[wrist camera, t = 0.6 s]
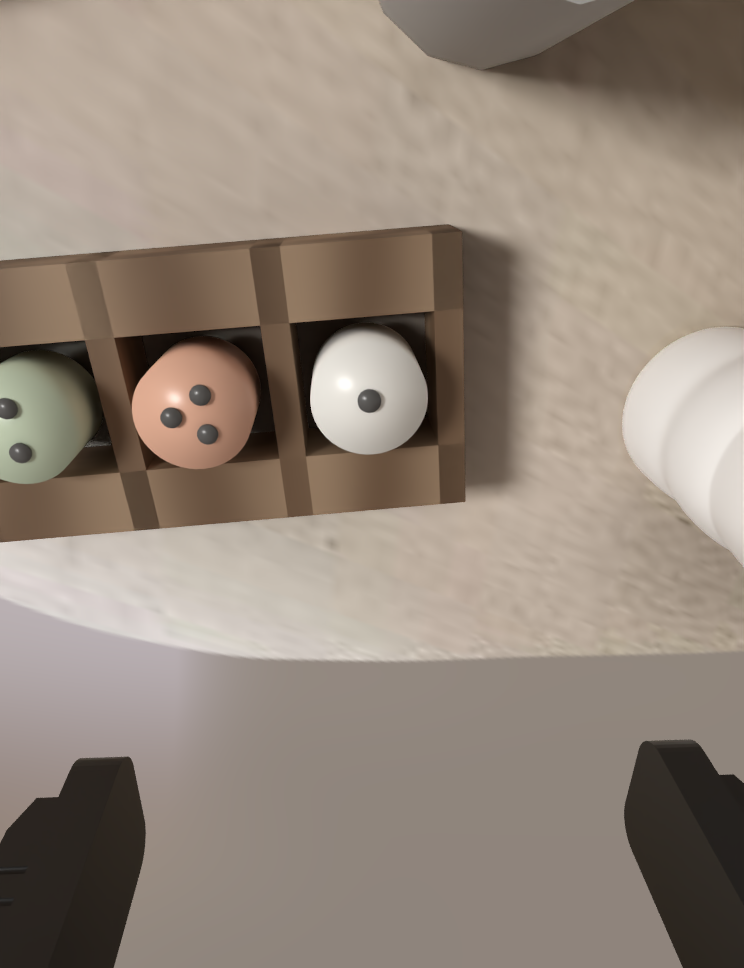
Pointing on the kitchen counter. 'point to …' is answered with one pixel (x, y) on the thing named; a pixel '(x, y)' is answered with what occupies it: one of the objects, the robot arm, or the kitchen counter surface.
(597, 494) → the kitchen counter surface
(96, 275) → the wooden compartment tray
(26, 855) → the robot arm
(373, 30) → the kitchen counter surface
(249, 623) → the kitchen counter surface
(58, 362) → the button two
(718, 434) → the water bottle
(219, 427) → the button three
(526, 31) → the cup
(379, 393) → the button one
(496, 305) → the kitchen counter surface
